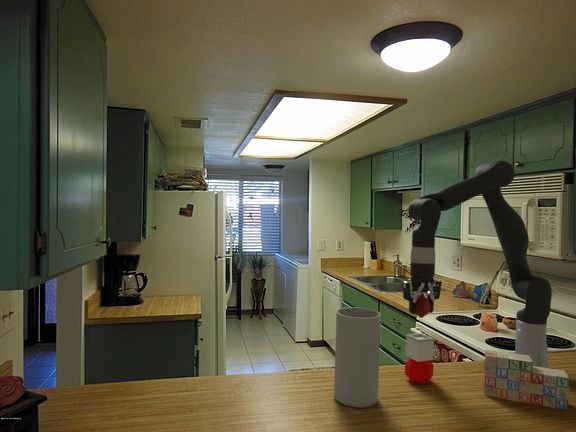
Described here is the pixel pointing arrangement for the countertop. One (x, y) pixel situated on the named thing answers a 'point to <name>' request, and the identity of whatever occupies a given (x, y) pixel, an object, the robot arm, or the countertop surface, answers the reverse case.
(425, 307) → the onion
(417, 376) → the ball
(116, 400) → the countertop surface
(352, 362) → the cylinder vase
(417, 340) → the socket block
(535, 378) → the stack of blocks
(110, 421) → the countertop surface
